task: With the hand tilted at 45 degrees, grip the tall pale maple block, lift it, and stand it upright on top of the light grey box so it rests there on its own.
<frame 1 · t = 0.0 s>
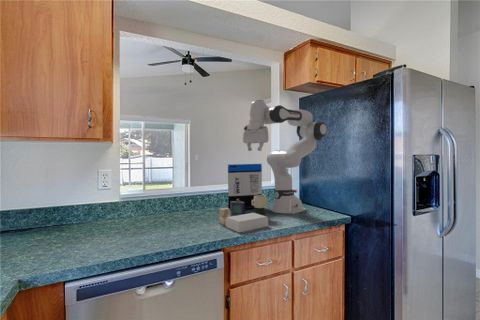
hand: (254, 150, 159), 39 cm above the worktop, tool pointing down, fingers open, 8 cm apart
grey box: (246, 226, 138), on the worktop
character mug: (260, 218, 155), on the worktop
maple block: (224, 223, 144), on the worktop
flask: (237, 217, 159), on the worktop
protein powder: (245, 208, 183), on the worktop
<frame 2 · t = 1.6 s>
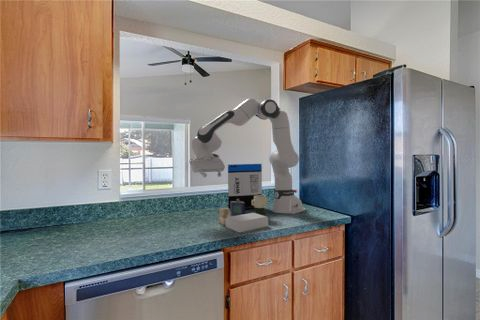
hand: (212, 176, 154), 24 cm above the worktop, tool tilted 45°, fingers open, 8 cm apart
nothing on the worktop moved.
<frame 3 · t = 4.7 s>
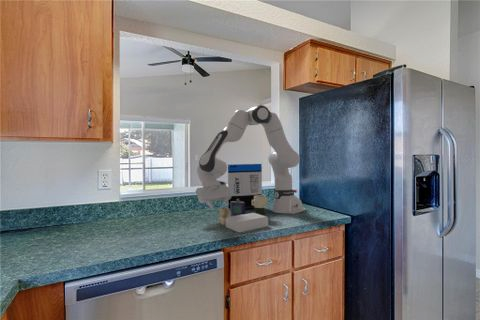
hand: (219, 206, 148), 8 cm above the worktop, tool tilted 45°, fingers open, 8 cm apart
nothing on the worktop moved.
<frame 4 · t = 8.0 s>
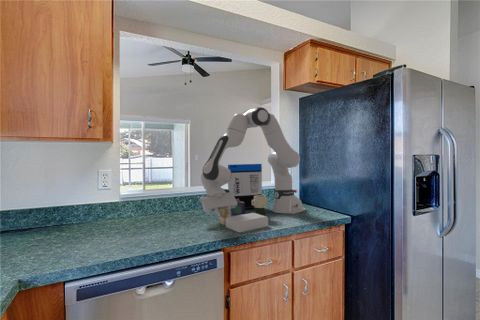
hand: (225, 215, 144), 4 cm above the worktop, tool tilted 45°, fingers closed on maple block, 4 cm apart
maple block: (224, 223, 144), on the worktop, touching gripper
everything else where it was.
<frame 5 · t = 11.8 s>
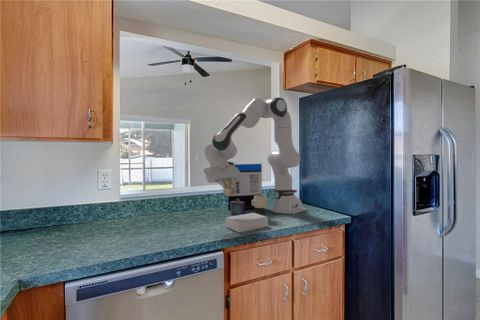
hand: (229, 186, 142), 20 cm above the worktop, tool tilted 45°, fingers closed on maple block, 4 cm apart
maple block: (228, 194, 143), point 16 cm above the worktop, touching gripper
everything else where it was.
when the fingers open (10 cm above the worktop, at t = 16.0 s): maple block stays where it is, resting on grey box.
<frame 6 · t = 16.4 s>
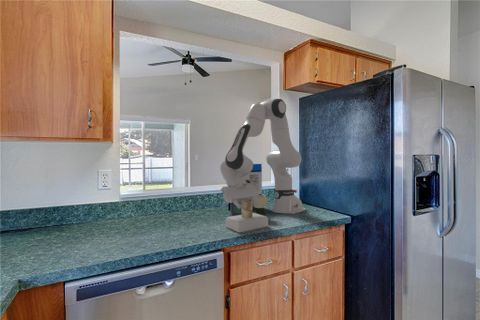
hand: (247, 206, 137), 10 cm above the worktop, tool tilted 45°, fingers open, 8 cm apart
maple block: (246, 216, 138), point 5 cm above the worktop, touching grey box
everything else where it was.
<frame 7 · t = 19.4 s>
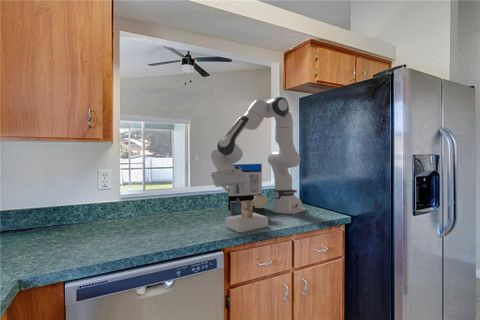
hand: (235, 190, 146), 17 cm above the worktop, tool tilted 45°, fingers open, 8 cm apart
nothing on the worktop moved.
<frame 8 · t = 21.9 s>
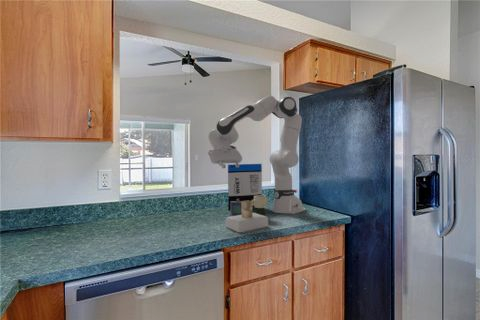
hand: (231, 167, 156), 29 cm above the worktop, tool tilted 45°, fingers open, 8 cm apart
nothing on the worktop moved.
at the end: maple block inside the target area on the grey box (0.1 cm from its centre), point 5.0 cm above the grey box's base; maple block tilted 0°; the gripper is holding nothing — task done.
